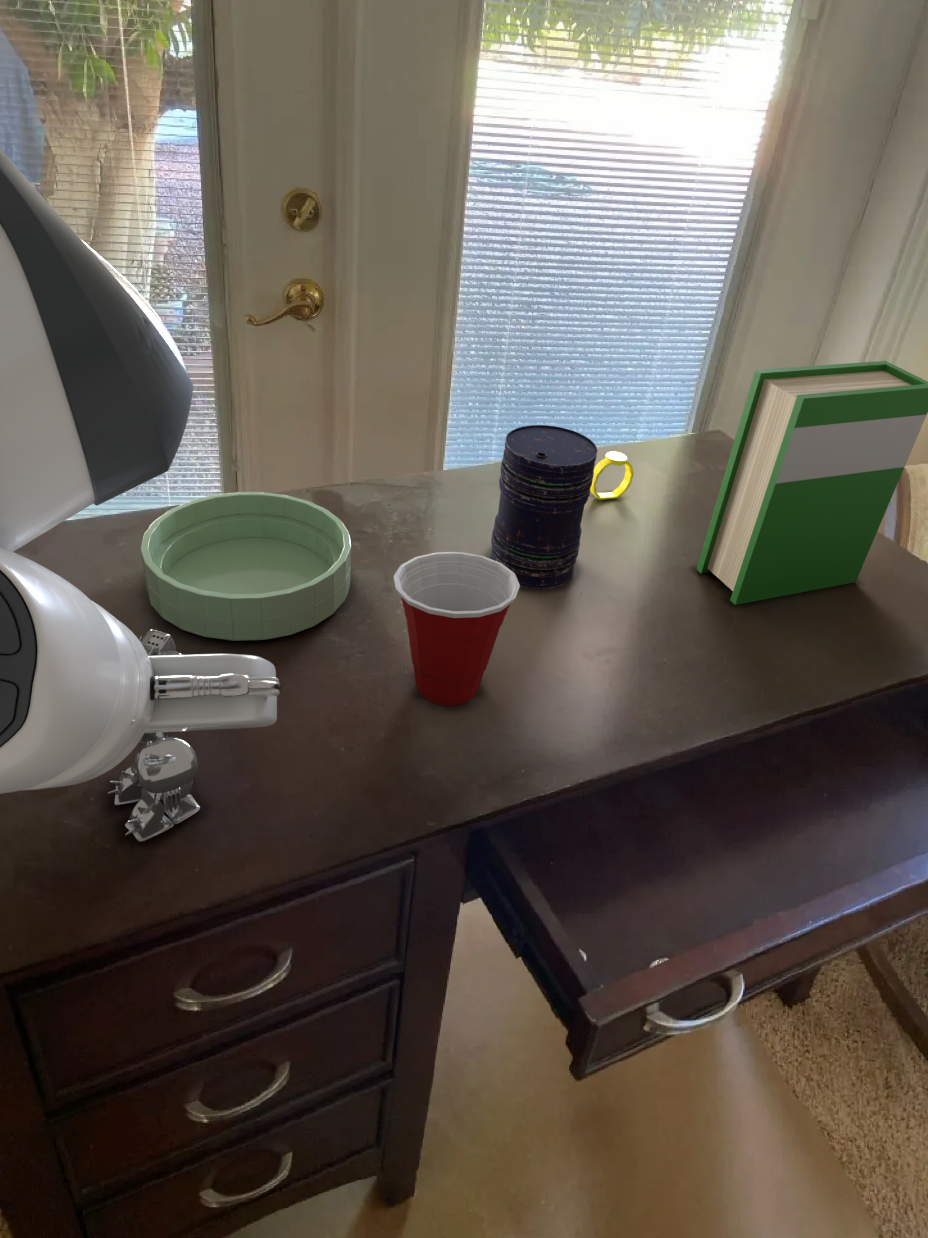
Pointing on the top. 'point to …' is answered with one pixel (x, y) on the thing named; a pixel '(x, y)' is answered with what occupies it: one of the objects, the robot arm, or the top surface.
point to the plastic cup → (453, 619)
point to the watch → (609, 459)
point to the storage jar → (542, 503)
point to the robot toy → (158, 771)
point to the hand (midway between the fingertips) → (111, 707)
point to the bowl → (246, 565)
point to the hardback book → (811, 476)
